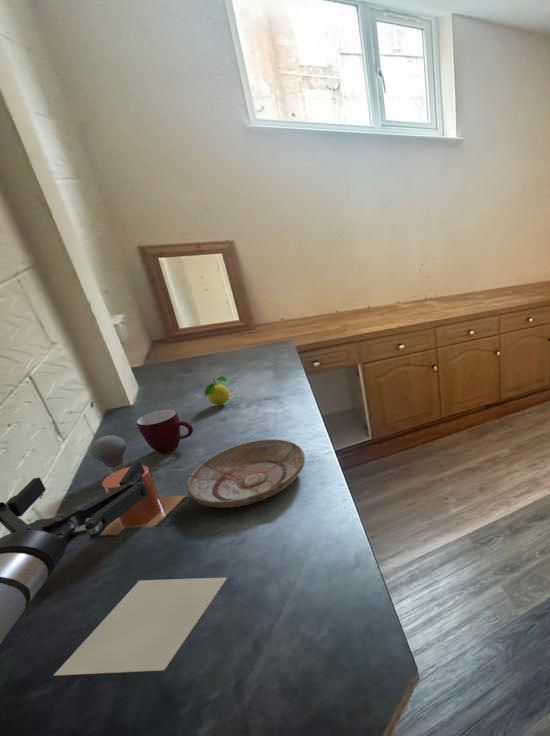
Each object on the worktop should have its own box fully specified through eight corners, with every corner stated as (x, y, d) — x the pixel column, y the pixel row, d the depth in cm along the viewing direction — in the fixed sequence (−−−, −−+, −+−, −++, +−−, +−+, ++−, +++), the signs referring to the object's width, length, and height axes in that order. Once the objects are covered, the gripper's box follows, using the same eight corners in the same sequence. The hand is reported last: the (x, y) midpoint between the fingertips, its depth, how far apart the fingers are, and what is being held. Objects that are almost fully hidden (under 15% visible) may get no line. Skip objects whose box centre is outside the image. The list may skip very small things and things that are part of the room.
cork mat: (90, 536, 79) (89, 534, 79) (135, 498, 90) (135, 496, 89) (148, 535, 80) (147, 533, 80) (186, 497, 90) (186, 495, 90)
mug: (199, 435, 113) (190, 404, 109) (195, 450, 107) (185, 417, 103) (152, 445, 108) (140, 413, 104) (144, 461, 102) (132, 428, 98)
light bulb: (110, 466, 99) (96, 432, 96) (139, 462, 101) (126, 429, 98) (95, 481, 94) (79, 446, 91) (126, 477, 96) (112, 442, 92)
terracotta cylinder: (109, 527, 81) (91, 488, 78) (137, 502, 88) (122, 465, 84) (145, 526, 82) (129, 487, 78) (170, 501, 88) (157, 464, 84)
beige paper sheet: (55, 679, 56) (52, 675, 56) (140, 583, 70) (139, 580, 70) (165, 673, 57) (164, 670, 57) (228, 580, 71) (227, 577, 71)
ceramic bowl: (196, 538, 80) (189, 518, 78) (190, 477, 96) (184, 460, 95) (318, 489, 94) (315, 472, 92) (294, 443, 110) (291, 428, 109)
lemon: (232, 398, 134) (225, 371, 130) (234, 405, 129) (227, 377, 126) (207, 404, 130) (199, 376, 126) (209, 411, 125) (201, 382, 122)
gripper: (-115, 626, 50) (3, 509, 68) (138, 562, 59) (182, 475, 77) (-149, 583, 47) (-17, 474, 65) (122, 524, 56) (171, 443, 74)
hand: (91, 474), depth 71 cm, fingers open, 13 cm apart
